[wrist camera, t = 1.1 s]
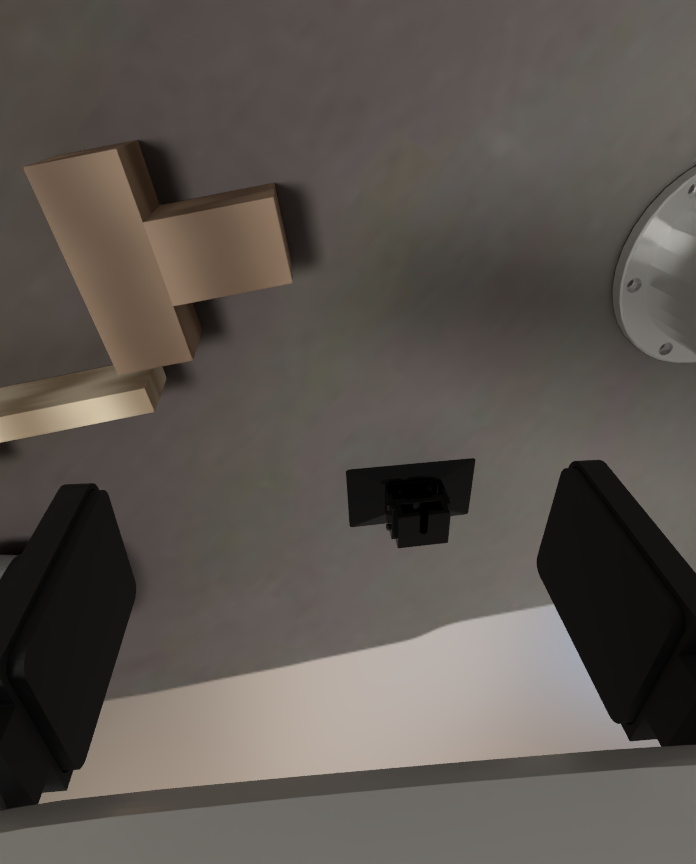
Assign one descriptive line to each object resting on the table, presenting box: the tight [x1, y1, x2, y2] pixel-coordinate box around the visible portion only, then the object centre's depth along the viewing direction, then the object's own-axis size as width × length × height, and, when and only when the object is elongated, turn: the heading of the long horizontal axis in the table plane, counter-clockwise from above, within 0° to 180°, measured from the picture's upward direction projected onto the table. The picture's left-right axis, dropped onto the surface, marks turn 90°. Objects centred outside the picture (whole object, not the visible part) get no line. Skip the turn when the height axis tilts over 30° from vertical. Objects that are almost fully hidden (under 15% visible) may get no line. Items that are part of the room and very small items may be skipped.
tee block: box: [23, 140, 293, 375], centre depth 27 cm, size 10×10×4 cm
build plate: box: [346, 458, 475, 548], centre depth 39 cm, size 12×7×5 cm, turn 92°
